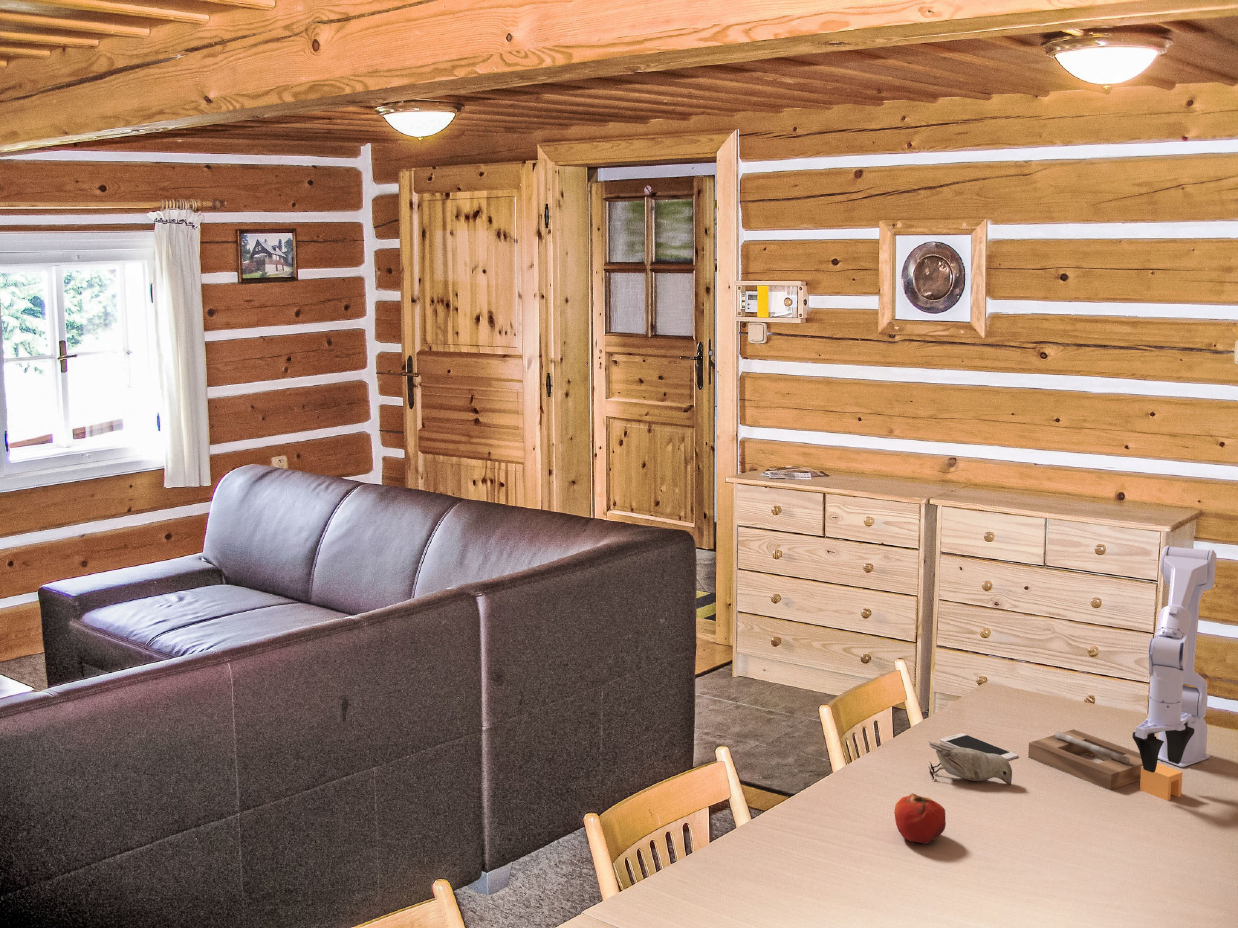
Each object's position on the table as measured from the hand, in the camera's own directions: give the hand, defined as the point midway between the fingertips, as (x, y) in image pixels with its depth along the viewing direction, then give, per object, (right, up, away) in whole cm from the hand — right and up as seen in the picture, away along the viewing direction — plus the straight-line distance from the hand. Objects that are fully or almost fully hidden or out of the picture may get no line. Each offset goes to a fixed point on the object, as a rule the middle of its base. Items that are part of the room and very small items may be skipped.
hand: (1161, 766), depth 242 cm
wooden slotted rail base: (-8, -3, +14) cm, 17 cm away
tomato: (-51, -9, -17) cm, 54 cm away
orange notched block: (0, -5, +1) cm, 5 cm away
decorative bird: (-35, -5, +8) cm, 36 cm away
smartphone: (-28, -3, +24) cm, 38 cm away
